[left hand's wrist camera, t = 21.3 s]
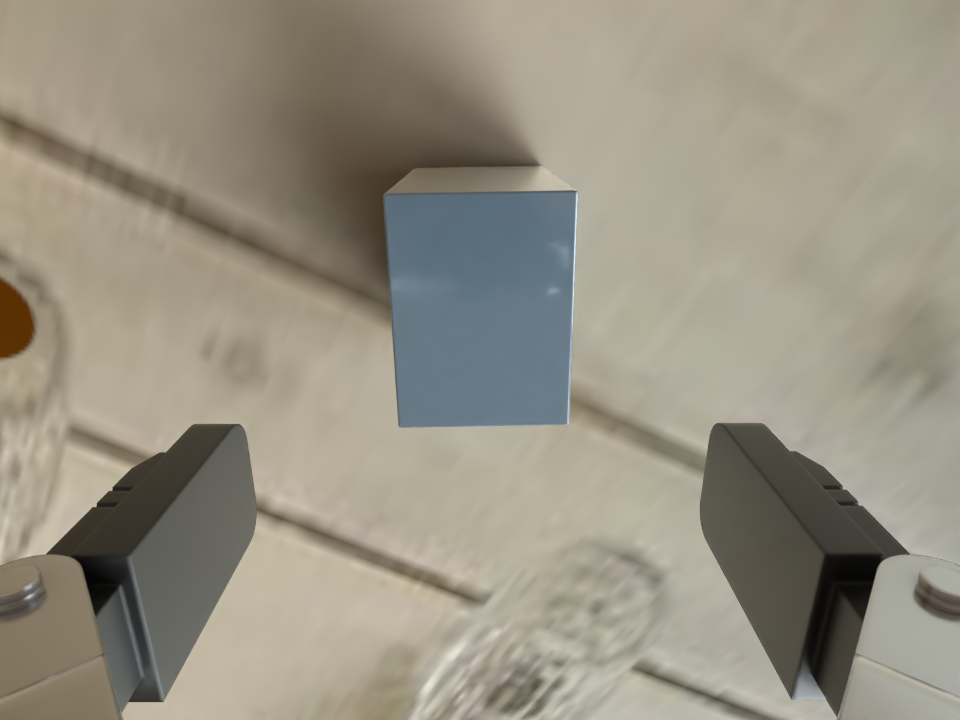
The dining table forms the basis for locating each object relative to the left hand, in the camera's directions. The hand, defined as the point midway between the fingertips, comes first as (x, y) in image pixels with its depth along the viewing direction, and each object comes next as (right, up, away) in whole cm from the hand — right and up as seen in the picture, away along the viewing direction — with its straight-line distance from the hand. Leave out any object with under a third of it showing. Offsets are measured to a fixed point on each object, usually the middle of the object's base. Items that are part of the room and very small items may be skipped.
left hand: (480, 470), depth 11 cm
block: (0, +6, +13) cm, 15 cm away
